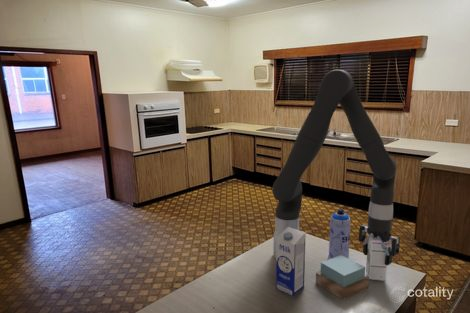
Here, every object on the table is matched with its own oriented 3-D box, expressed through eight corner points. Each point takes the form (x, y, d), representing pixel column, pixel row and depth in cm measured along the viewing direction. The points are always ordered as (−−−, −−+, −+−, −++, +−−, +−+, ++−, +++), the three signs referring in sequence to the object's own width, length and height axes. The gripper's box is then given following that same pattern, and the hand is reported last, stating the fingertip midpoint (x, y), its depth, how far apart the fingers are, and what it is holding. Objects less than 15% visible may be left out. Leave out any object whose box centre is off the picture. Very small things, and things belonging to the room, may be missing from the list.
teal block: (320, 273, 113) (321, 262, 112) (340, 265, 118) (341, 254, 118) (343, 287, 105) (344, 275, 104) (364, 278, 110) (365, 267, 109)
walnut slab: (315, 283, 114) (316, 272, 114) (339, 273, 121) (339, 263, 120) (343, 301, 104) (344, 289, 104) (367, 289, 110) (368, 278, 110)
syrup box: (386, 281, 112) (390, 241, 110) (367, 279, 114) (371, 239, 111) (382, 272, 118) (386, 234, 115) (364, 270, 119) (368, 232, 116)
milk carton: (304, 287, 111) (306, 231, 107) (293, 296, 106) (294, 238, 102) (286, 280, 116) (287, 226, 112) (275, 288, 111) (276, 232, 107)
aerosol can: (339, 265, 125) (342, 215, 121) (323, 256, 132) (325, 209, 128) (353, 259, 129) (356, 210, 126) (337, 251, 136) (339, 205, 132)
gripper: (355, 210, 115) (352, 253, 119) (393, 224, 104) (389, 271, 107) (369, 206, 119) (365, 248, 122) (407, 219, 107) (402, 265, 111)
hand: (376, 259), depth 115 cm, fingers closed on syrup box, 8 cm apart
